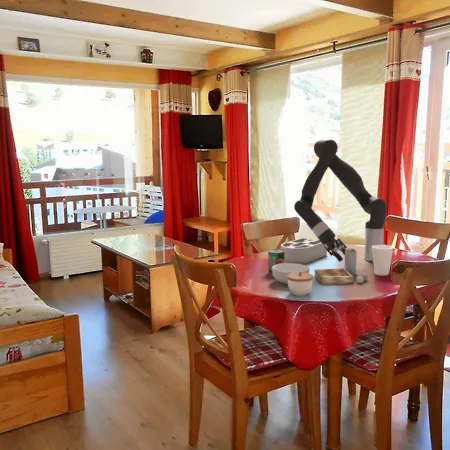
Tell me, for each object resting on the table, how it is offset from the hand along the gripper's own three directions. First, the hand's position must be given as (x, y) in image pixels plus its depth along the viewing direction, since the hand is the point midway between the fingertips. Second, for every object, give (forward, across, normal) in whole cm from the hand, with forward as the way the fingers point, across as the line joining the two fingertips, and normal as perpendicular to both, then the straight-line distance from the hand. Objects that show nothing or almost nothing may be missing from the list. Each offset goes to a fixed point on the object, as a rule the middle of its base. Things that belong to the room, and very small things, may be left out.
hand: (345, 258), depth 224 cm
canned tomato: (-15, -16, +26) cm, 34 cm away
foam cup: (+15, +10, -5) cm, 19 cm away
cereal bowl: (-5, -26, +16) cm, 31 cm away
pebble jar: (+6, +2, +4) cm, 8 cm away
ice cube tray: (-18, +17, +29) cm, 38 cm away
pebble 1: (+13, -11, -3) cm, 17 cm away
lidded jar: (+3, -38, +8) cm, 39 cm away
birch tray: (+5, -12, +6) cm, 14 cm away
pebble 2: (+14, -6, -3) cm, 15 cm away
